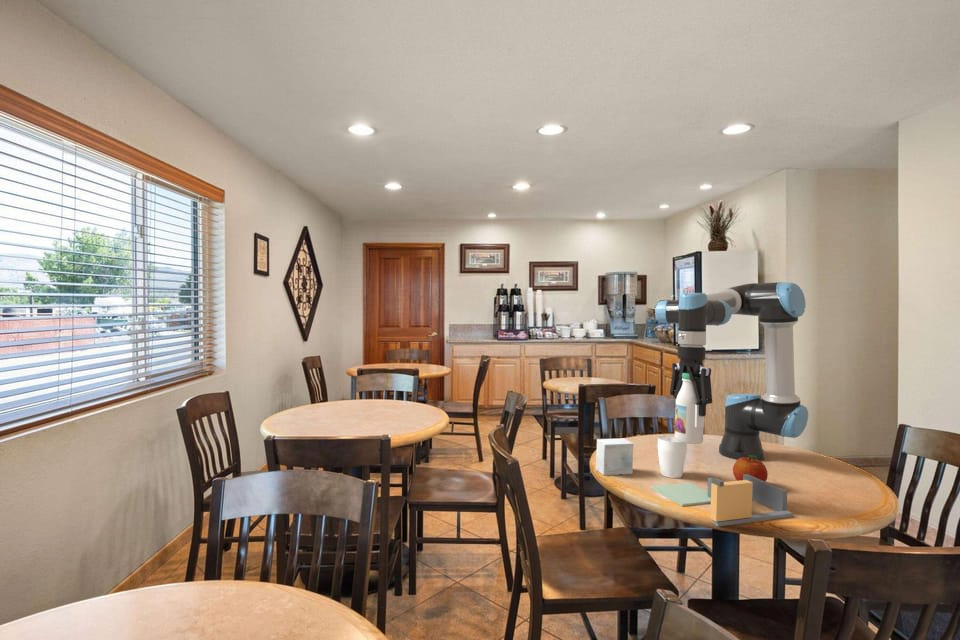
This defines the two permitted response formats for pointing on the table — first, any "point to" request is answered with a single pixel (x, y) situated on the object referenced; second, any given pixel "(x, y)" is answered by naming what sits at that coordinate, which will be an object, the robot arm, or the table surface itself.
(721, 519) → the tan wooden slab
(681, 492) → the mat
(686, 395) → the milk bottle
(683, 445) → the cup
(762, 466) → the fruit
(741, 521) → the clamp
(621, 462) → the skincare box
